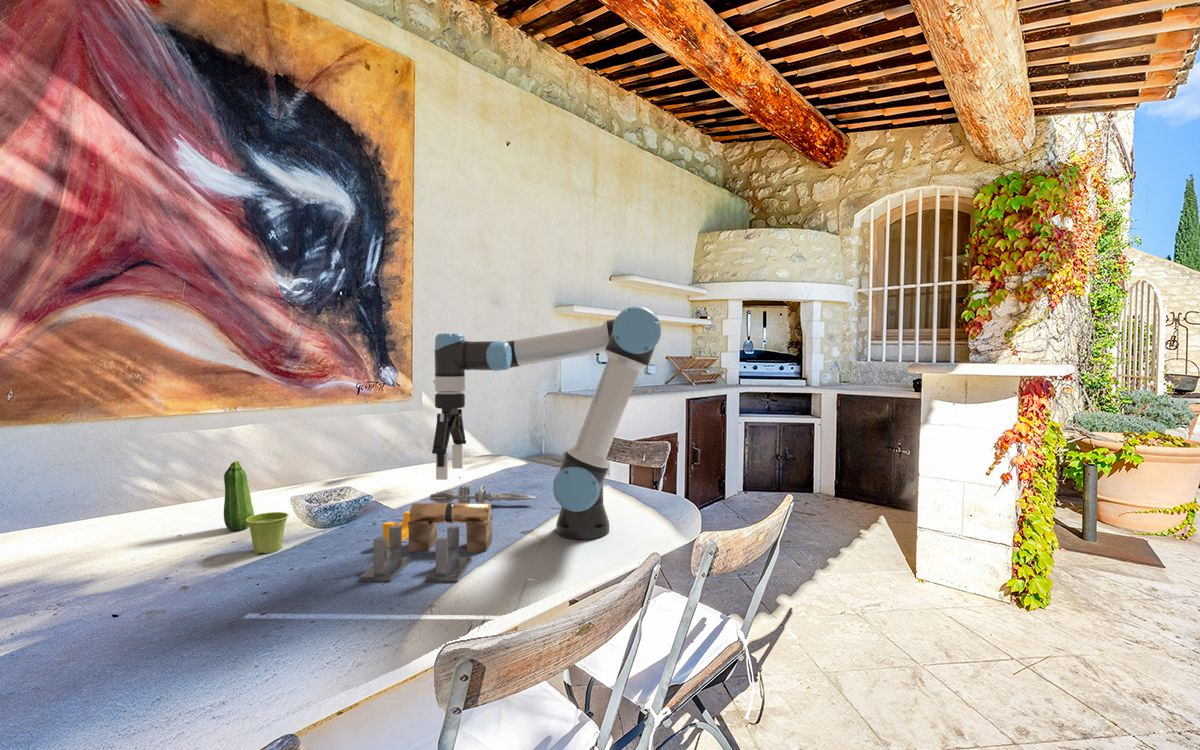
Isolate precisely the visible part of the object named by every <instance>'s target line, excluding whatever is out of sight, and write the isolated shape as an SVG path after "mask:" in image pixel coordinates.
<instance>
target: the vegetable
mask: <svg viewBox="0 0 1200 750" xmlns="http://www.w3.org/2000/svg"><path fill="white" fill-rule="evenodd" d="M223 481H224V482H223V484H224V502H223V503H224V504H223V521H224V524H225V526H226V528H227V529H228V530H230V531H232V532H233V531H234V532H237V531H238V530H239V531H243V529H244V530H246V529H248V528H249V526H248V523H247V522H246V519H247V518H248V517H251V516H253V515H255V513H254V507H253V503H252V498H251V491H250V487H249V483H248V477H247V473H246V471H245V470H244V469H243V467H242V465H241V463H240V461H239V460H235V461H233V462H232V463H230V465H229V466H228V468H227V470H226V471H225V472H224V475H223Z"/></svg>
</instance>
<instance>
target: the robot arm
mask: <svg viewBox="0 0 1200 750" xmlns="http://www.w3.org/2000/svg"><path fill="white" fill-rule="evenodd" d="M661 335H662V327H661V323H660V320H659V318H658V317H657V315H656V314H655V312H653V311H652V310H650V309H648V308H646V307H643V306H637V305H636V306H630V307H627V308H625V309H623V310H622V311H620V312H619V314H617V316H616V317H615V318H613V319H608V320H605V321H604V322H603V324H602V325H596V326H595V325H594V326H590V327H583V328H577V329H573V330H567V331H561V332H555V333H550V334H544V335H538V336H532V337H527V338H521V339H514V340H509V341H507V340H506V341H499V340H493V341H492V340H491V341H487V340H485V341H484V340H483V341H470V340H468V341H467V340H466V339H465V335H464V334H463V333H448V332H446V333H438V334H437V335H436V336H435V339H434V340H435V341H434V350H433V351H434V352H433V353H434V379H433V380H432V383H433V384H434V390H435V392H437V393H435V395H434V406H435V408H436V409H441V412H440V413H437V414H436V426H435V432H434V439H433V446H432V450H431V453H432V454H434V455H435V480H442V481H445V480H448V479H449V476H448V475H449V474H448V473H449V472H448V471H449V466H448V465H449V461H448V460H449V458H448V457H449V455H448V453H447V449H448V446H449V442H450V437H451V439H452V442H453V444H451V445H452V447H451V448H452V449H451V451H452V452H451V453H452V454H451V455H452V456H451V457H452V458H451V459H452V460H451V461H452V463H451V465H452V467H451V469H457V470H459V469H460V470H461V469H464V445H466V444H467V440H466V435H465V434H466V433H465V427H464V420H463V410H462V408H464V407H465V405H466V399H465V397H466V396H465V393H463V392H465V391H466V376H465V375H466V371H495V372H498V371H506V370H508V369H511V368H517V367H522V366H523V367H524V366H528V365H529V366H530V365H535V364H541V363H546V362H553V361H558V360H564V359H566V360H567V359H572V358H576V357H584V356H589V355H594V354H595V355H596V354H602V353H605V354H606V356H607V361H606V364H605V366H604V369H603V372H602V374H601V377H600V379H599V382H598V384H597V387H596V389H595V393H594V395H593V398H592V400H591V402H590V405H589V408H588V411H587V412H586V413H587V414H586V415H585V419H584V421H583V423H582V427H581V428H580V431H579V434H578V436H577V437H578V438H577V439H576V442H575V445H573V446H571V447H570V448H567V450H564V451H563V452H562V456H561V465H560V468H559V470H558V473H557V474H555V477H554V479H553V483H552V493H553V496H554V499H555V501H556V502H557V503H558V505H560V509H559V514H558V518H557V521H556V524H555V527H556V529H555V531H556V534H557V535H558V536H560V537H562V538H566V539H571V540H592V539H597V538H601V537H604V536H606V535H607V534H609V533H610V520H609V518H608V514H607V511H606V509H605V505H604V481H605V478H606V475H607V472H608V470H609V467H610V463H609V462H608V460H607V456H608V454H609V451H610V449H611V446H612V444H613V440H614V439H615V436H616V434H617V430H618V428H619V425H620V423H621V420H622V417H623V414H624V412H625V410H626V407H627V405H628V402H629V399H630V396H631V394H632V391H633V390H634V389H633V388H634V386H635V384H636V381H637V379H638V375H639V373H640V371H642V370H643V369H646V368H648V366H649V363H650V361H651V359H652V356H653V353H654V351H655V348H656V346H657V345H658V343H659V341H660V339H661Z"/></svg>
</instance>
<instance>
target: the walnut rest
mask: <svg viewBox="0 0 1200 750" xmlns="http://www.w3.org/2000/svg"><path fill="white" fill-rule="evenodd" d="M465 525H466V526H465V527H466V552H487V551H488V549H489V547H490V546H491V544H492V543H493V514H492V513H491V519H490V522H489V523H487V521H467V522H466V523H465ZM408 527H409V537H408V552H429V551H430V550H431V549H432V547H434V546H435V545H436V543H435V540H436V539H437V538H438V523H429V521H409V522H408Z"/></svg>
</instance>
